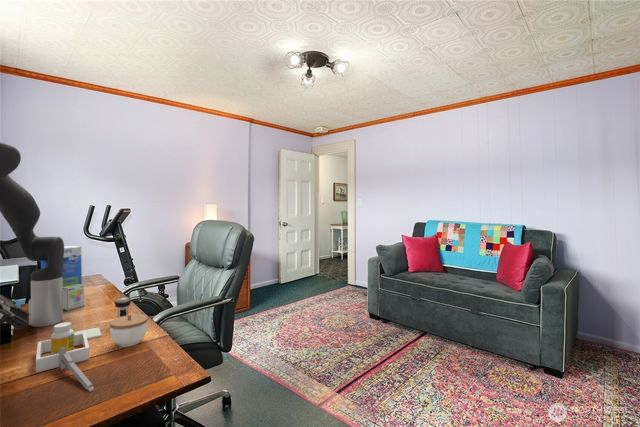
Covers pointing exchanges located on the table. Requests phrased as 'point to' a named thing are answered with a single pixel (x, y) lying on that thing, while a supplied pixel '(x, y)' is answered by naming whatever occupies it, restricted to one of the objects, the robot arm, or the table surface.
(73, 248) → the string lights box
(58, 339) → the supplement bottle
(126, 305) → the push button
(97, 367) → the table surface
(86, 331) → the rubber mat
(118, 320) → the lidded jar
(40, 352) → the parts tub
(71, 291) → the ink box
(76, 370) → the caliper
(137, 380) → the table surface
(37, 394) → the table surface
